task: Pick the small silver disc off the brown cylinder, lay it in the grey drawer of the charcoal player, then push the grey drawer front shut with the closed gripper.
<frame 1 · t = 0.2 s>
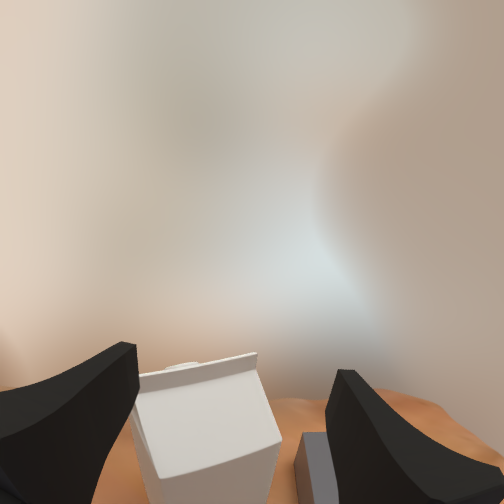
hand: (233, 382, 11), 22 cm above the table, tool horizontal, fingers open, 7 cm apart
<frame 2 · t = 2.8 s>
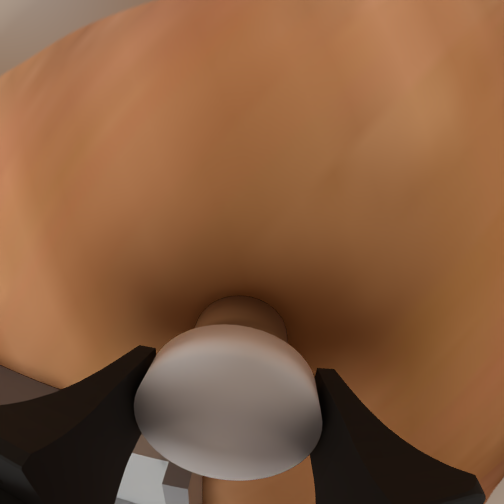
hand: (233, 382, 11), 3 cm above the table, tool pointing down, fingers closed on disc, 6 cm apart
grey drawer: (93, 481, 15), point 2 cm above the table, slide at 7.0 cm
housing: (14, 421, 17), on the table
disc: (231, 397, 10), point 4 cm above the table, touching gripper, brown cylinder
brown cylinder: (240, 337, 14), on the table
when the fingers open (2 cm above the table, at t = 6.5 s): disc drops 2 cm, resting on grey drawer.
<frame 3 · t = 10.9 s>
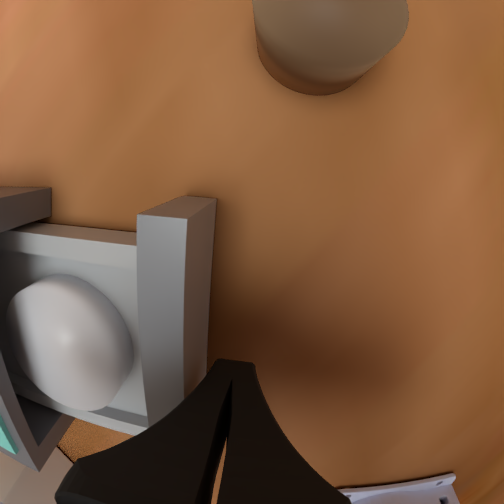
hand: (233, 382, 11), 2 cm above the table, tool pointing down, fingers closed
milk carton: (55, 466, 17), on the table
grey drawer: (37, 341, 11), point 2 cm above the table, slide at 5.7 cm, touching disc, gripper
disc: (74, 336, 12), point 1 cm above the table, touching grey drawer
brown cylinder: (313, 44, 10), on the table
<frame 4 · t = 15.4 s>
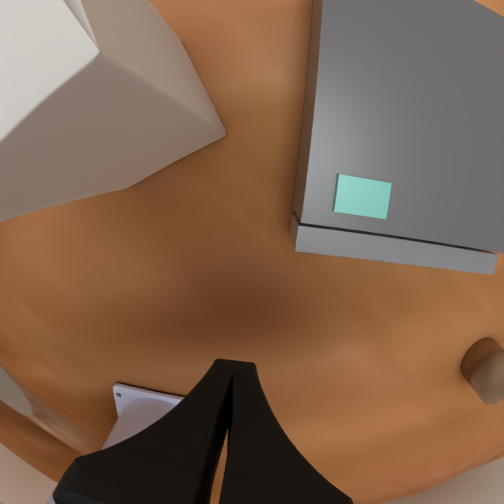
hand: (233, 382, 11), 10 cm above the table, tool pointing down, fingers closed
milk carton: (152, 112, 18), on the table
grey drawer: (414, 129, 15), point 2 cm above the table, slide at 0.0 cm, touching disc
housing: (400, 109, 17), on the table
brown cylinder: (479, 358, 21), on the table
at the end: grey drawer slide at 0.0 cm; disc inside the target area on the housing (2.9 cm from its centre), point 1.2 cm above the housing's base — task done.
